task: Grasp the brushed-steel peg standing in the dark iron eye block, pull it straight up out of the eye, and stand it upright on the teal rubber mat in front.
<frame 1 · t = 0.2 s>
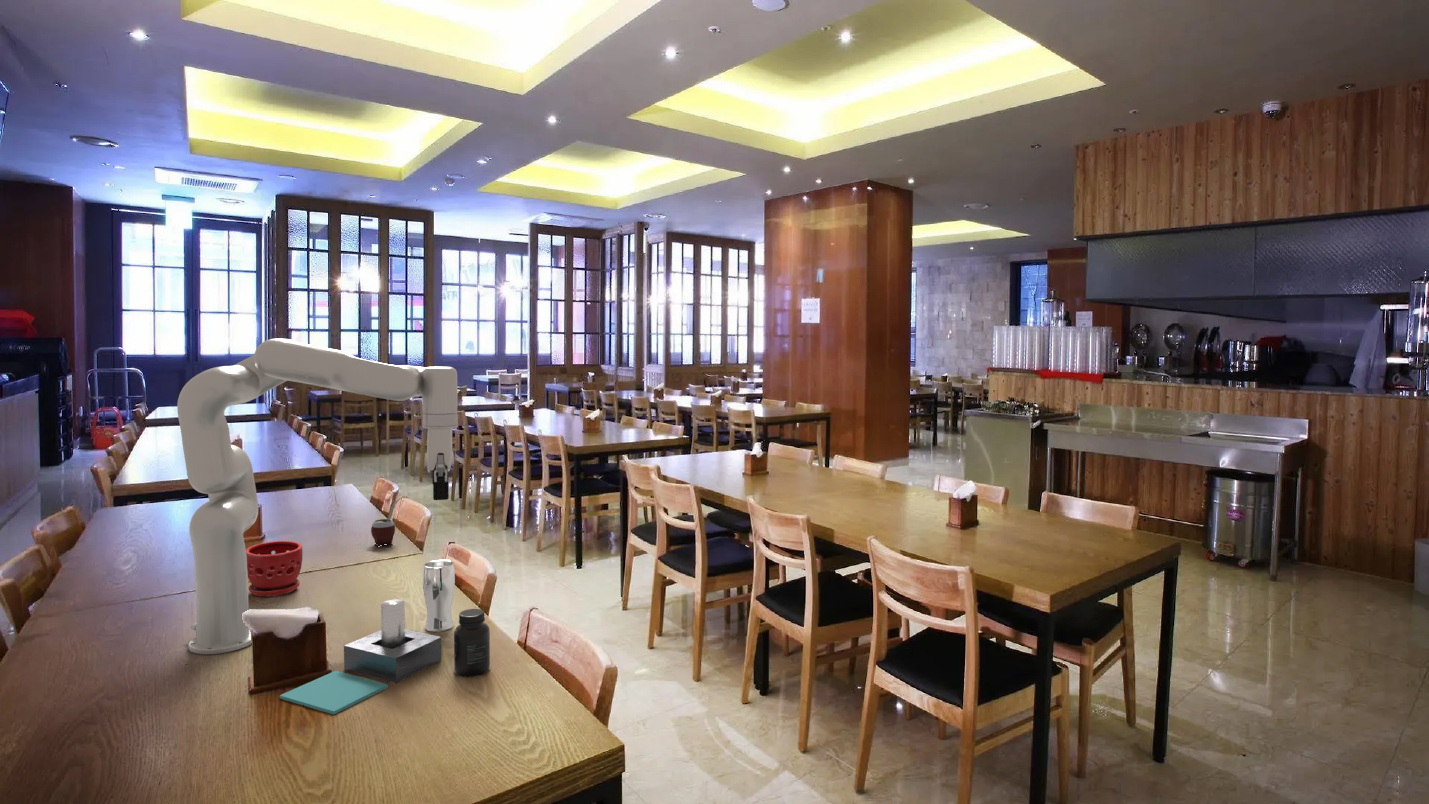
hand: (441, 495, 175), 31 cm above the table, tool pointing down, fingers open, 9 cm apart
steel peg: (393, 634, 156), in the eye block
teal mat: (334, 692, 144), on the table
mate gourd: (384, 545, 248), on the table
eye block: (393, 665, 157), on the table
beer glass: (439, 628, 178), on the table
plant pot: (275, 592, 201), on the table
supplement bottle: (472, 671, 155), on the table
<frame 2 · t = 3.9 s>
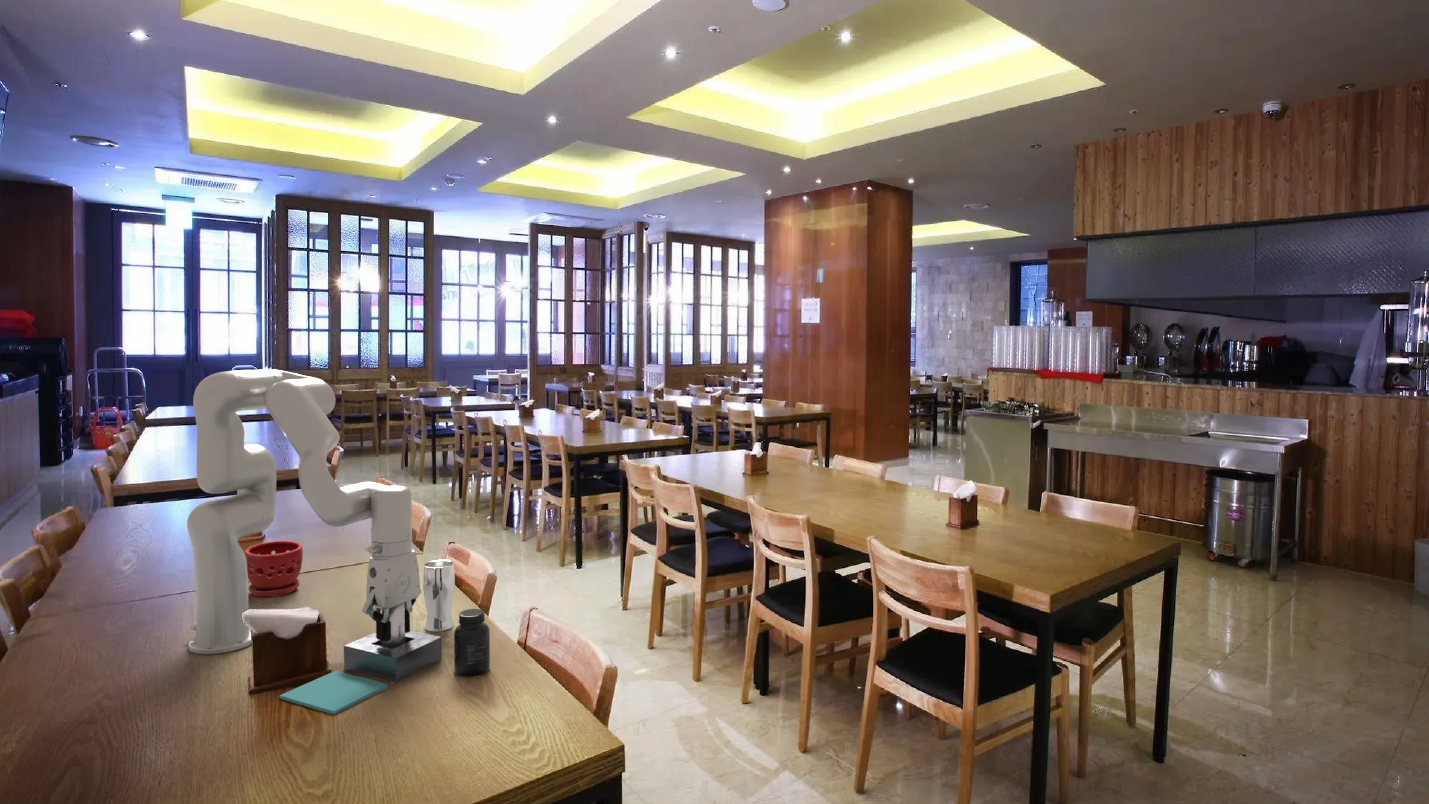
hand: (393, 634, 156), 6 cm above the table, tool pointing down, fingers closed on steel peg, 4 cm apart
steel peg: (393, 634, 156), in the eye block, touching gripper
everything else where it was.
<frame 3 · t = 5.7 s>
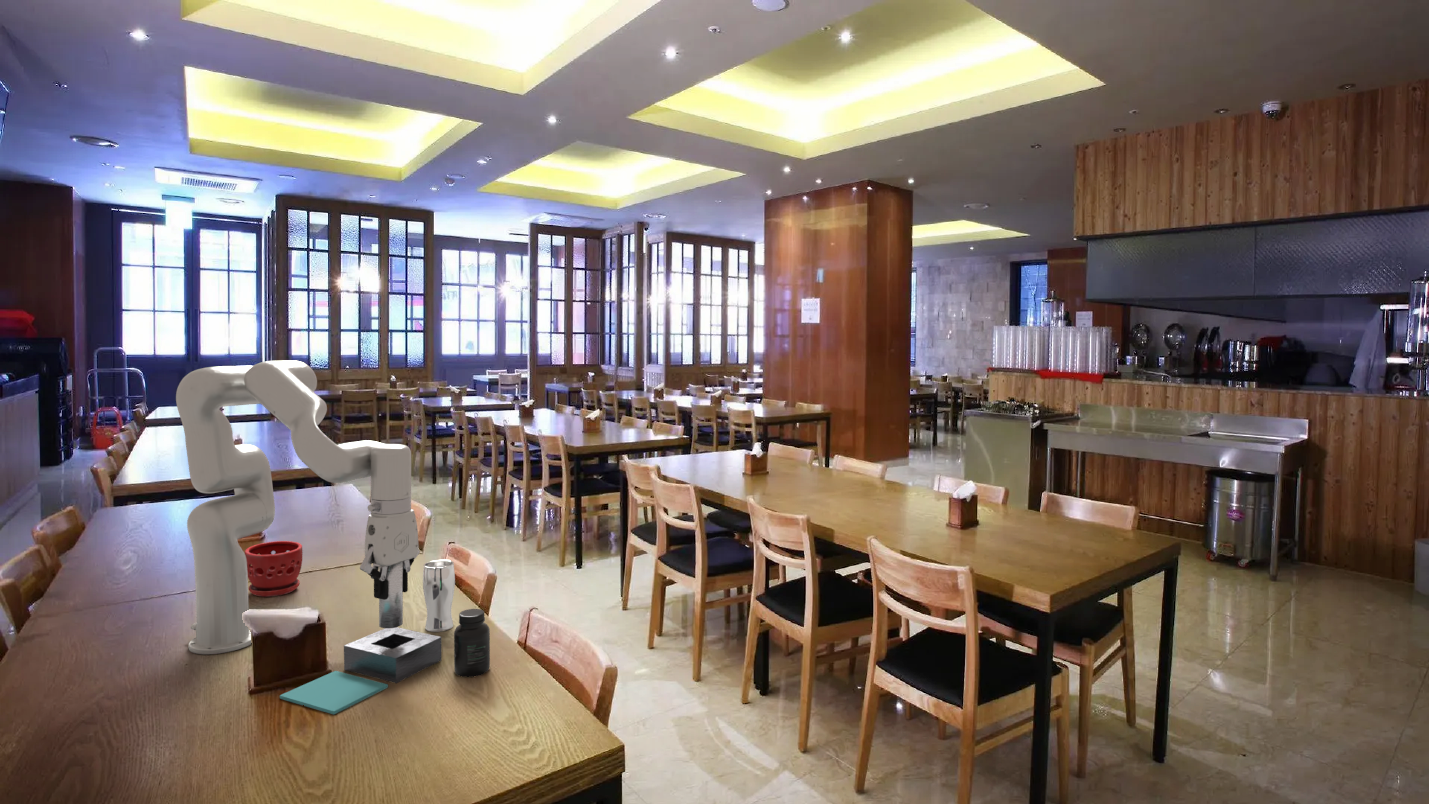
hand: (391, 593, 156), 15 cm above the table, tool pointing down, fingers closed on steel peg, 4 cm apart
steel peg: (391, 593, 156), point 15 cm above the table, touching gripper
everything else where it was.
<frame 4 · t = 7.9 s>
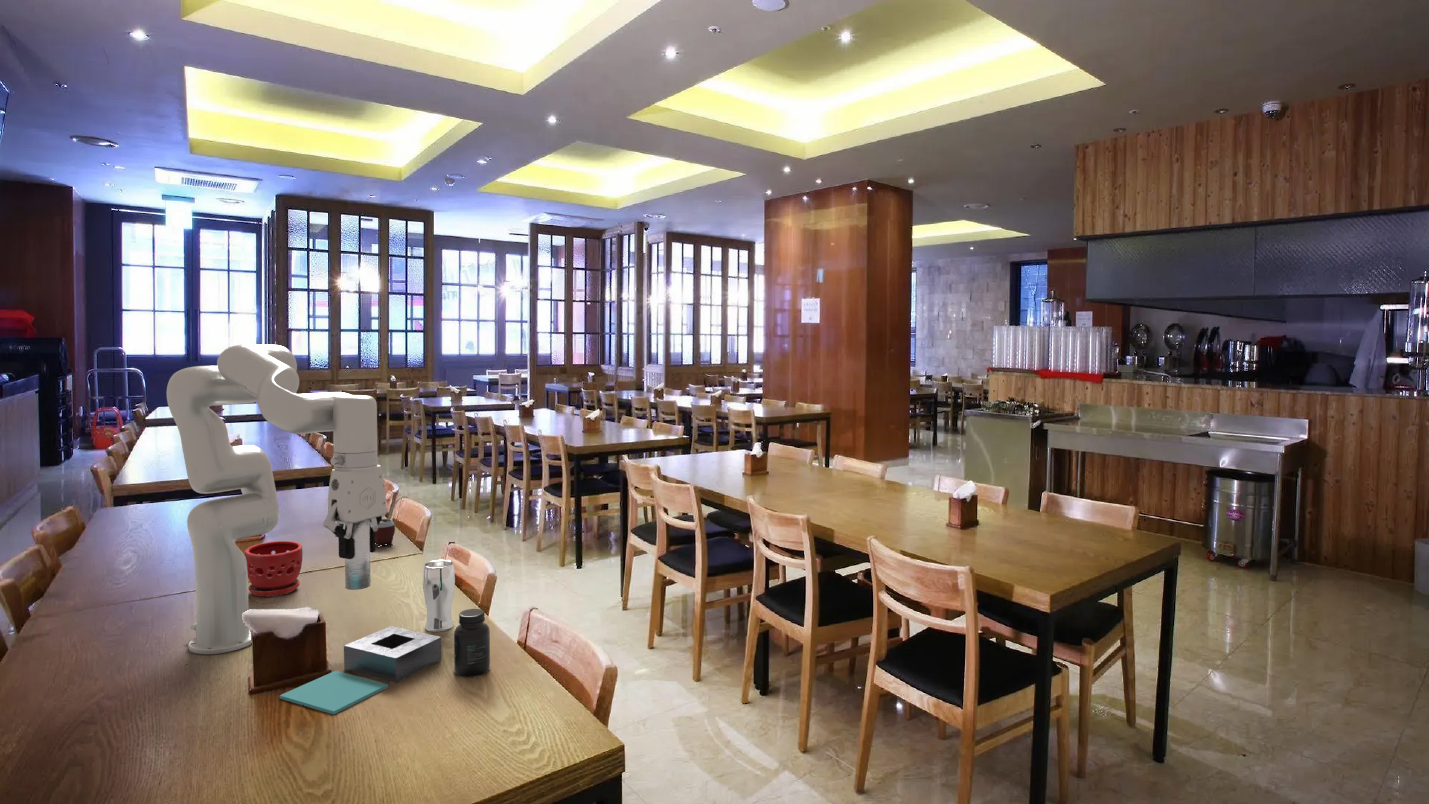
hand: (357, 553, 147), 25 cm above the table, tool pointing down, fingers closed on steel peg, 4 cm apart
steel peg: (357, 553, 147), point 25 cm above the table, touching gripper
everything else where it was.
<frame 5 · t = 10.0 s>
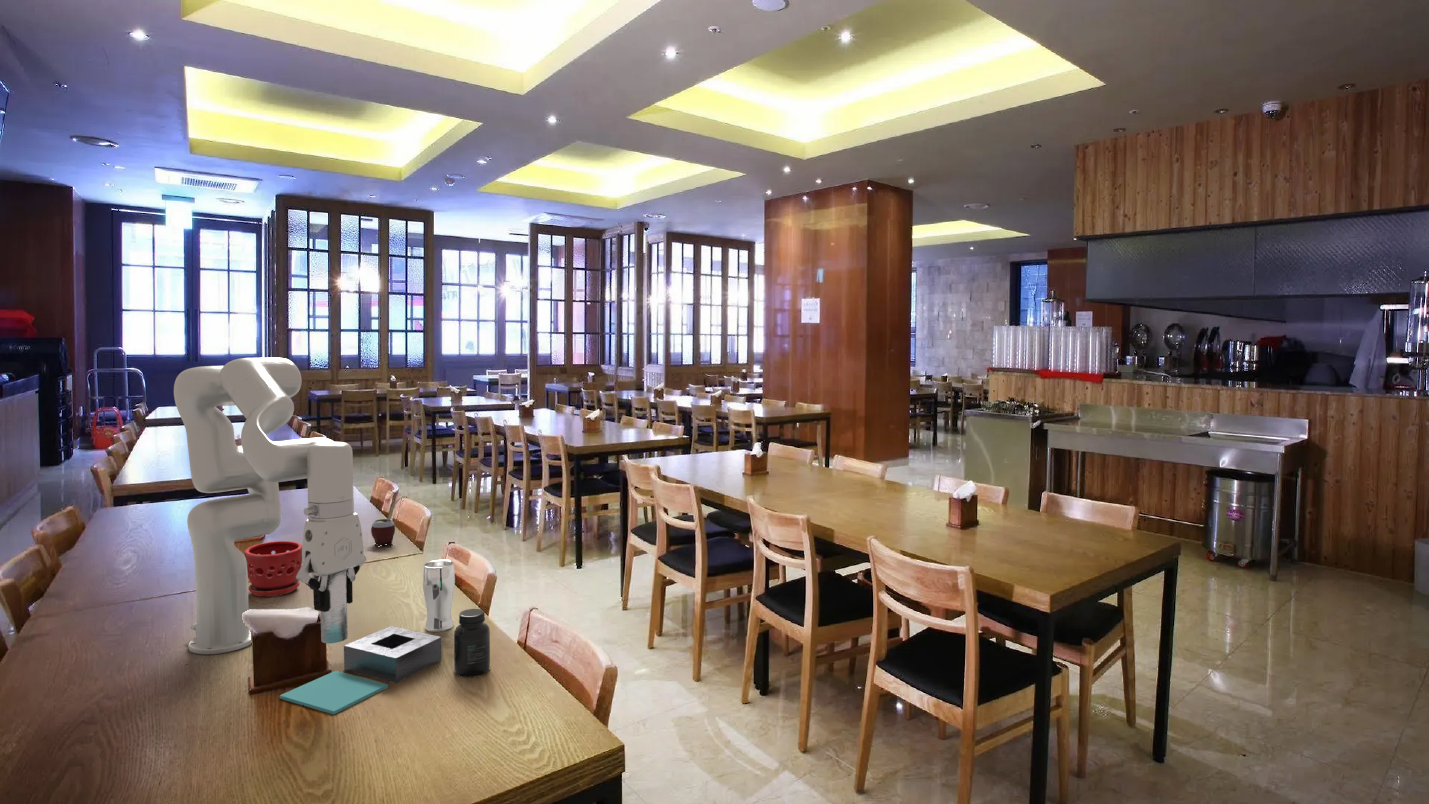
hand: (333, 605, 143), 17 cm above the table, tool pointing down, fingers closed on steel peg, 4 cm apart
steel peg: (333, 604, 143), point 17 cm above the table, touching gripper
everything else where it was.
when the fingers open (8 cm above the table, at t = 11.9 s): steel peg drops 1 cm, resting on teal mat.
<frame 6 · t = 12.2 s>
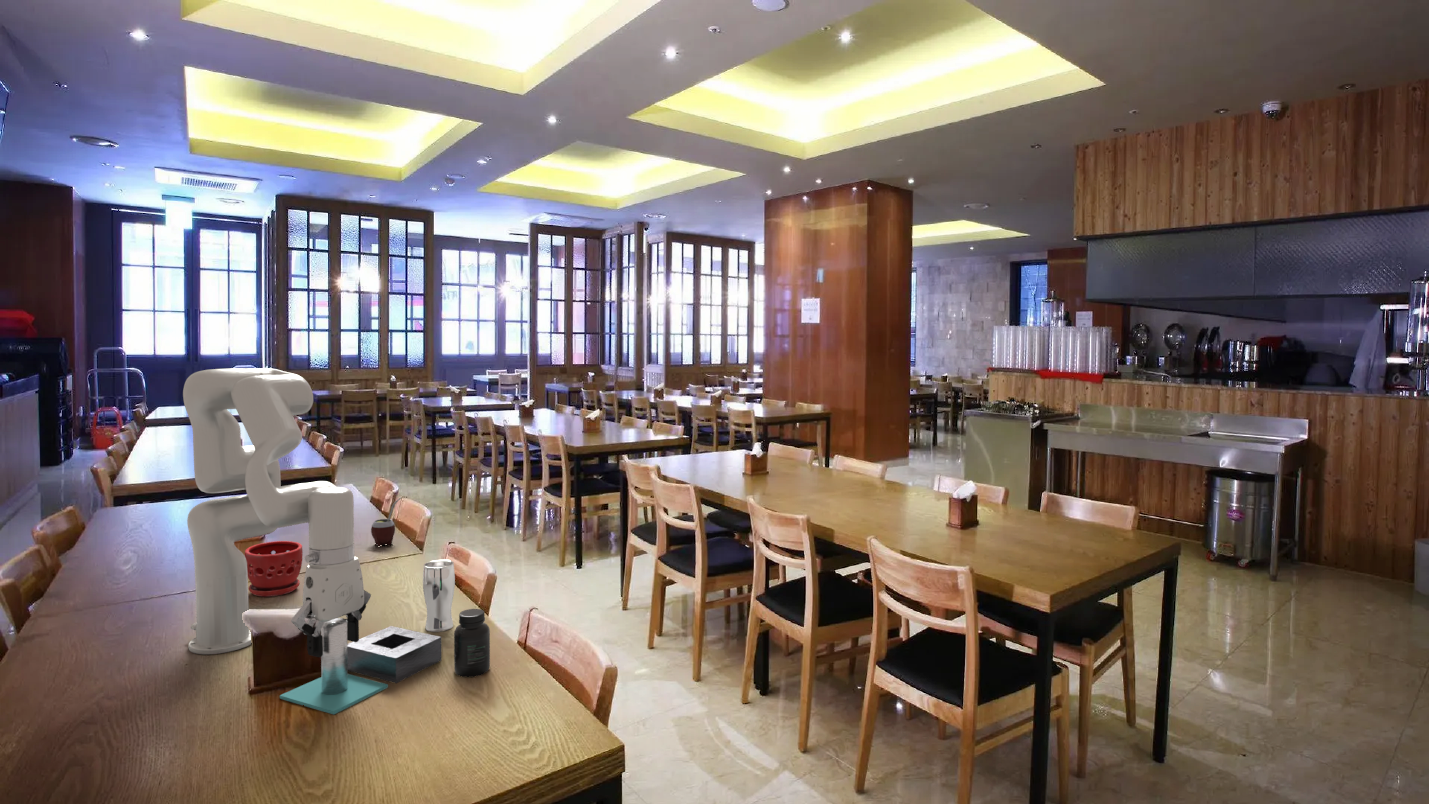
hand: (333, 647, 143), 9 cm above the table, tool pointing down, fingers open, 7 cm apart
steel peg: (334, 656, 143), on the teal mat, point 7 cm above the table
everything else where it was.
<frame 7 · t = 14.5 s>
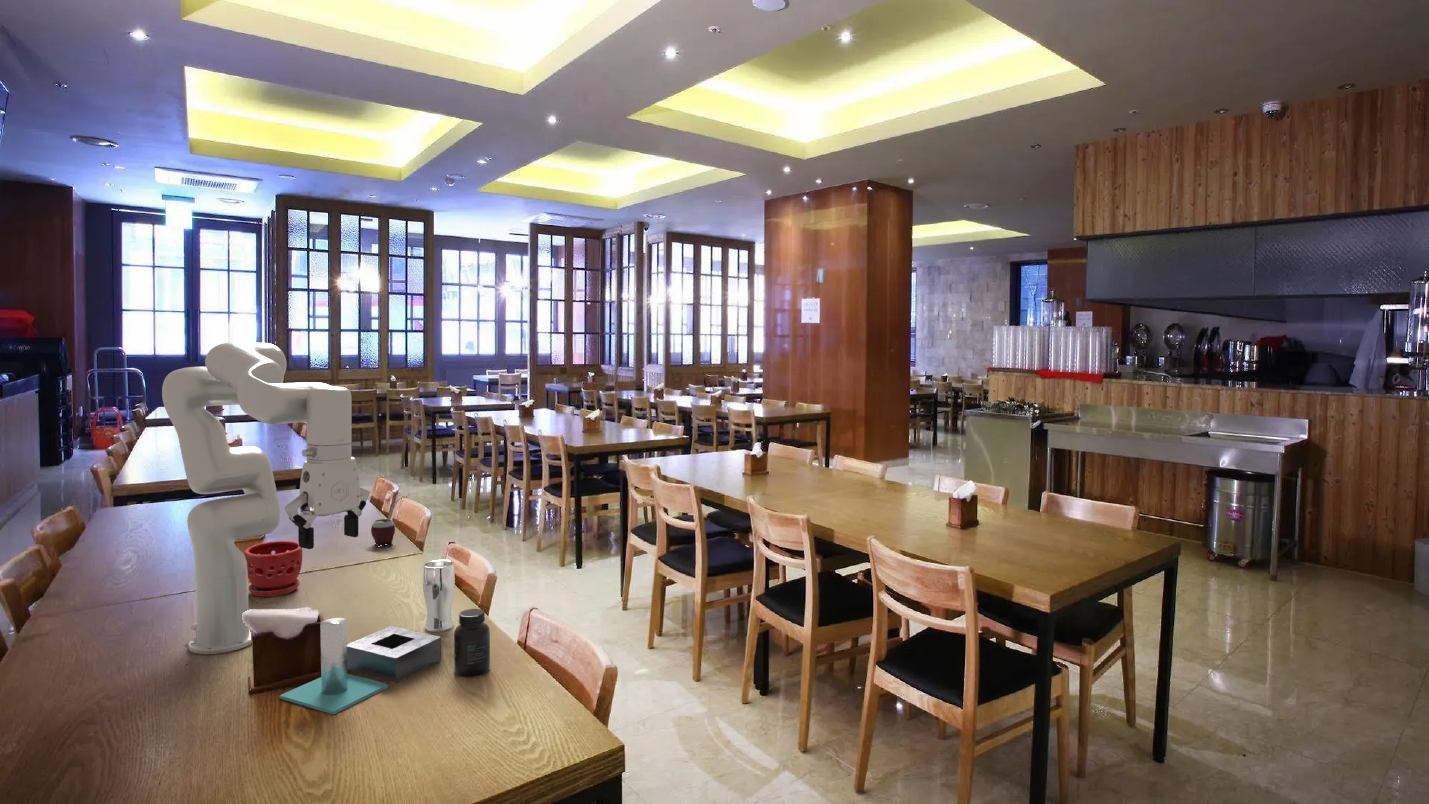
hand: (329, 541, 145), 28 cm above the table, tool pointing down, fingers open, 9 cm apart
nothing on the table moved.
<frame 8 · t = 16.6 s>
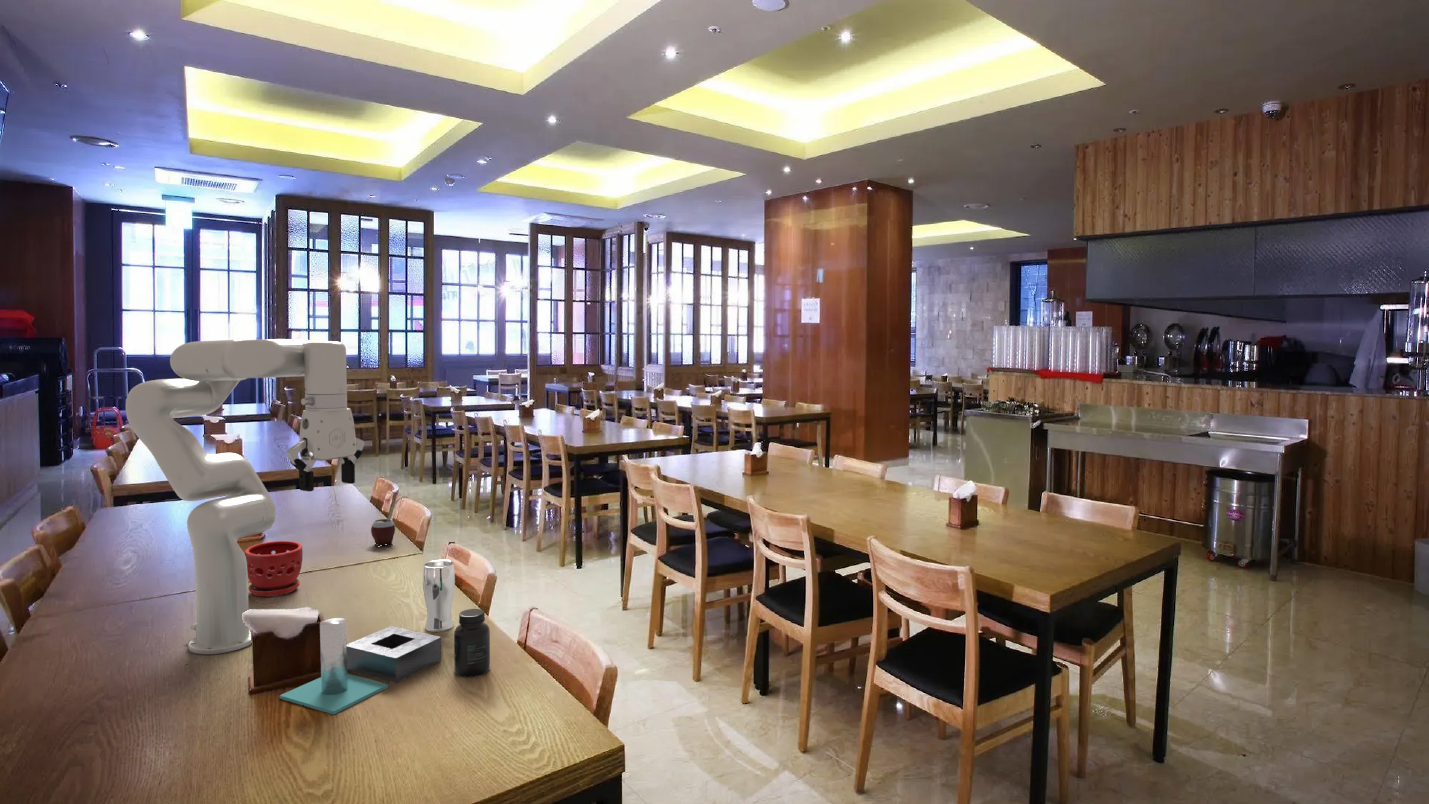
hand: (328, 486, 156), 36 cm above the table, tool pointing down, fingers open, 9 cm apart
nothing on the table moved.
at the end: steel peg inside the target area on the teal mat (0.0 cm from its centre), point 7.1 cm above the teal mat's base; steel peg tilted 0°; the gripper is holding nothing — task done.
